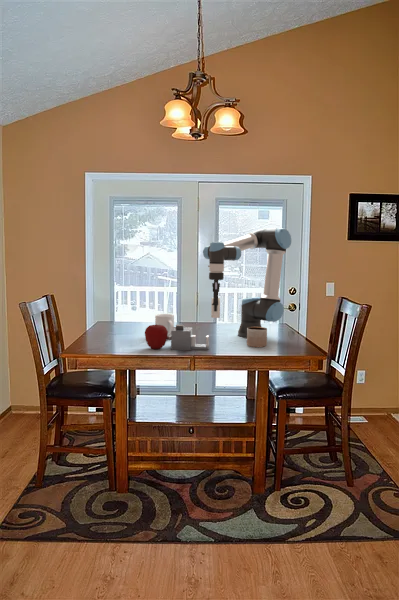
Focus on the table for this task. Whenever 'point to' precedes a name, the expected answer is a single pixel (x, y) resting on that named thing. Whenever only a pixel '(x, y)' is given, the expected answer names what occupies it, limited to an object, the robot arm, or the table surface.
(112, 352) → the table surface
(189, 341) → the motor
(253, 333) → the planter
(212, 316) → the white bottle
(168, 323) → the mug
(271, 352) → the table surface
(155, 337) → the apple
